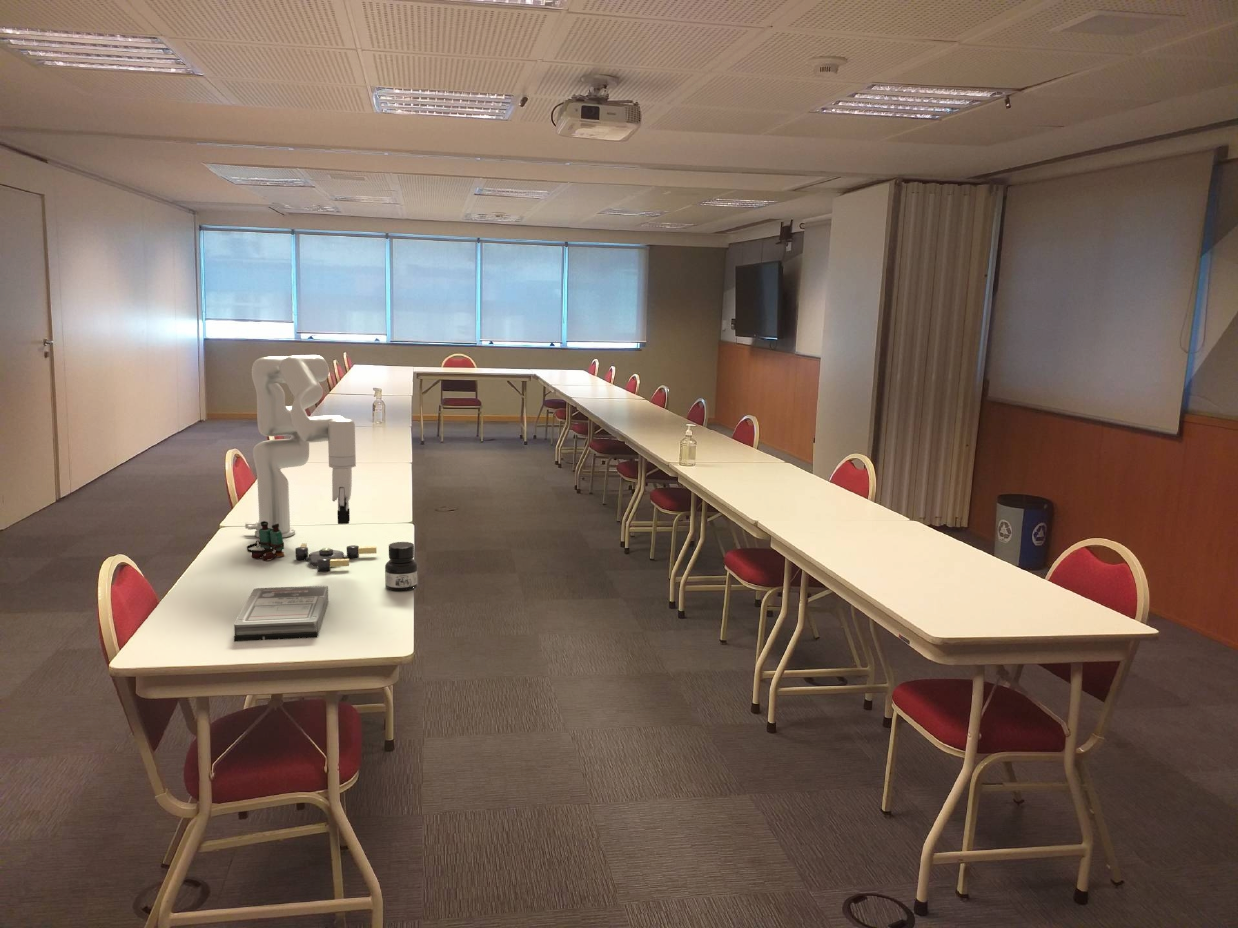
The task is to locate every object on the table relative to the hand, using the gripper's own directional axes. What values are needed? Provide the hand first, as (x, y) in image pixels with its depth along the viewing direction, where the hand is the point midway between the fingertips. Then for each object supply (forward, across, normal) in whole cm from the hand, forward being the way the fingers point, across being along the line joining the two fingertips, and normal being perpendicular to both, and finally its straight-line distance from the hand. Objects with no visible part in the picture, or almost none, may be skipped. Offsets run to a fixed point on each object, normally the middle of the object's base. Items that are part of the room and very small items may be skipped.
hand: (343, 522), depth 264 cm
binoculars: (+13, -11, -24) cm, 29 cm away
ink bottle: (+13, +23, +16) cm, 31 cm away
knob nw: (+13, -11, -13) cm, 21 cm away
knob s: (+13, +4, -3) cm, 14 cm away
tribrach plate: (+13, -4, -6) cm, 15 cm away
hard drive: (+14, +45, -12) cm, 48 cm away
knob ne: (+13, -8, +4) cm, 16 cm away
